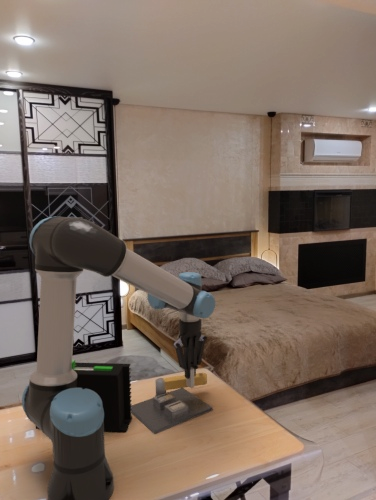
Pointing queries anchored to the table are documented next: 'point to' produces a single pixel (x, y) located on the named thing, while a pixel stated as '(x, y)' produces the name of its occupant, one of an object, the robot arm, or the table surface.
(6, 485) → the table surface
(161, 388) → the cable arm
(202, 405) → the chassis plate
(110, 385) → the electronic device
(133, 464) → the table surface
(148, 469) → the table surface
